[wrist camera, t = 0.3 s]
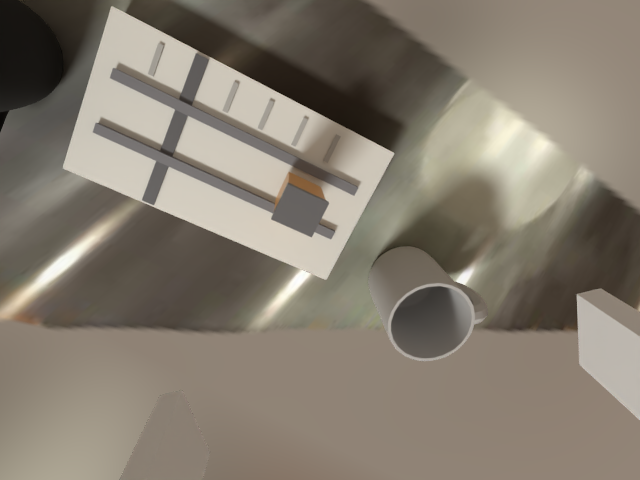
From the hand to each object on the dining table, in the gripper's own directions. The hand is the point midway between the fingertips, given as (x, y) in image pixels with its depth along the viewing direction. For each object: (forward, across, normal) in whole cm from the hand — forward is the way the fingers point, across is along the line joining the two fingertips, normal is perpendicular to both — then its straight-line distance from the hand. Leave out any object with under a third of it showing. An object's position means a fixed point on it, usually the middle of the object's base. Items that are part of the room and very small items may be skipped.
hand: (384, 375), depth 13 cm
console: (+25, -7, +6) cm, 27 cm away
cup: (+26, +7, -10) cm, 29 cm away
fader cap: (+22, -2, +2) cm, 22 cm away
